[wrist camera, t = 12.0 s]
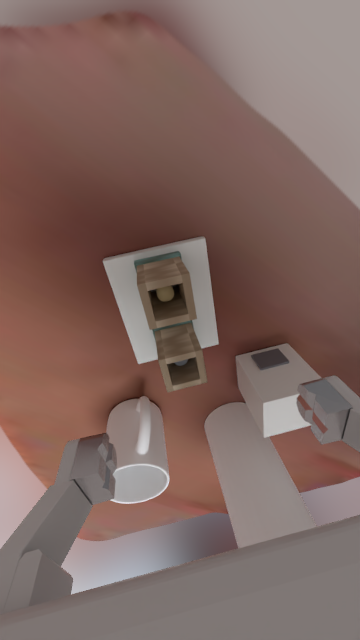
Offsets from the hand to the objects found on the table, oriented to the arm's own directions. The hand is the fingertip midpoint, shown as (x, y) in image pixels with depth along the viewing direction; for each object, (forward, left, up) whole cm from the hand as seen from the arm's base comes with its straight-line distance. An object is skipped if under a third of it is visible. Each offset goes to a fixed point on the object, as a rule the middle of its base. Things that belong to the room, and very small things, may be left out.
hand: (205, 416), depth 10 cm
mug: (+8, +20, -21) cm, 30 cm away
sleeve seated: (0, +8, -19) cm, 21 cm away
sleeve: (0, 0, -19) cm, 19 cm away
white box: (-12, +18, -21) cm, 30 cm away
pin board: (0, +4, -21) cm, 21 cm away
